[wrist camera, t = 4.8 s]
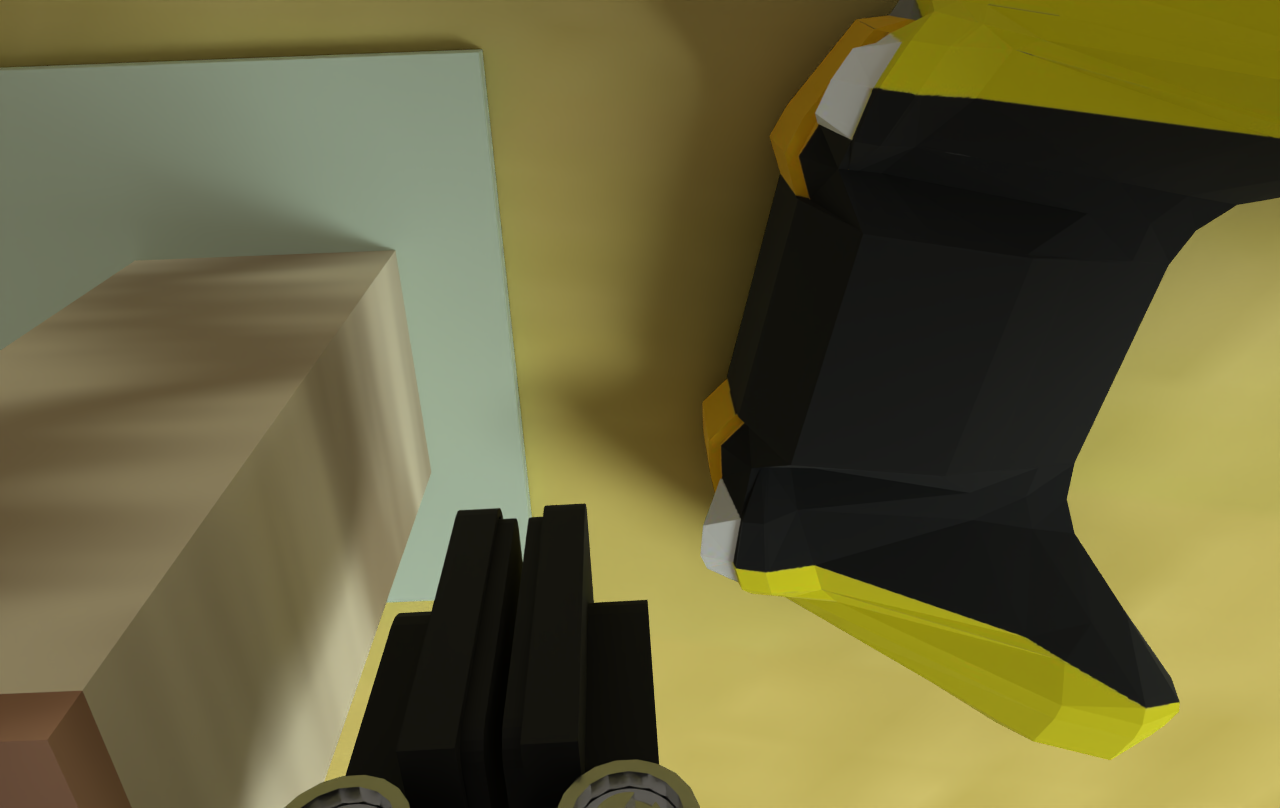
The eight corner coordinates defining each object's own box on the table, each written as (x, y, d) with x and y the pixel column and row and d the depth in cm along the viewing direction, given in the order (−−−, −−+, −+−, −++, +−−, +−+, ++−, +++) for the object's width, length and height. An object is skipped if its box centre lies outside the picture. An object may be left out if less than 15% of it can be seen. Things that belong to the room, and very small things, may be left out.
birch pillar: (395, 250, 17) (47, 739, 7) (431, 472, 20) (213, 1101, 9) (135, 260, 17) (-628, 768, 7) (201, 482, 20) (-290, 1123, 9)
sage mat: (482, 49, 16) (478, 52, 16) (538, 582, 22) (537, 596, 21) (-637, 92, 16) (-673, 96, 16) (-298, 617, 22) (-317, 631, 21)
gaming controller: (1368, -29, 16) (832, -155, 15) (1693, -15, 11) (937, -200, 10) (1043, 618, 23) (654, 563, 22) (1160, 803, 18) (666, 744, 17)
